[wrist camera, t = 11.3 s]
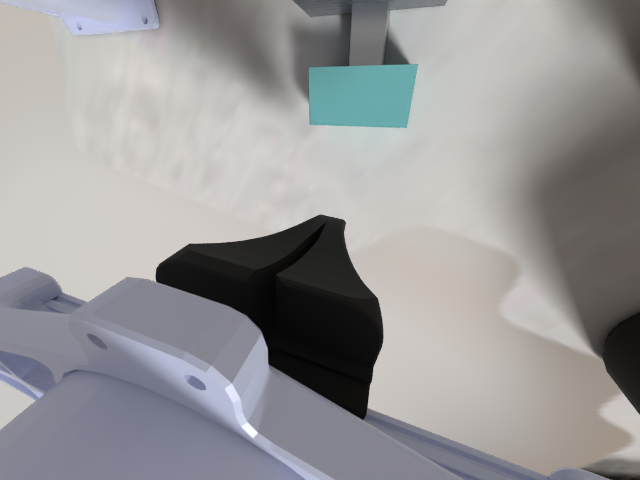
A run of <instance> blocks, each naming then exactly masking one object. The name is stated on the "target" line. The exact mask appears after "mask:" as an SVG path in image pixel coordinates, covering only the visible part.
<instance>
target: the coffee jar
mask: <svg viewBox="0 0 640 480" xmlns="http://www.w3.org/2000/svg"><path fill="white" fill-rule="evenodd" d="M602 355H603V360H604V364H605V367H606V370H607V372H608V374H609V375H610V376H611V377H612V379H613V380H614V382H615V383H616V384H617V385H618V387H619V388H620V389H621V391H622V392H623V393H624V395H625V396H626V397H627V399H628V400H629V401H630V402H631V404H632V405H633V406H634V408H635V409H636V410H637V412H638V413H639V414H640V313H638V314H636V315H634V316H632V317H630V318H628V319H627V320H625V321H623V322H621V323H619V324H618V325H617V326H616V327H615V328H614V329H613V330H612V331H611V332H610V333H609V334H608V336H607V338H606V341H605V344H604V351H603V354H602Z"/></svg>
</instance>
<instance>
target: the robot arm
mask: <svg viewBox="0 0 640 480" xmlns="http://www.w3.org/2000/svg"><path fill="white" fill-rule="evenodd" d="M0 3H3V4H7V5H11V6H15V7H20V8H24V9H27V10H31V11H35V12H39V13H44V14H47V15H51V16H55V17H59V18H63V20H64V22H65V25H66V27H67V29H68V31H69V32H70V33H71V34H72V35H76V36H83V35H94V34H106V33H118V32H130V31H141V30H153V29H158V27H159V24H160V23H159V18H158V14H157V10H156V6H155V2H154V0H0ZM146 18H147V20H148V23H147V21H146ZM345 224H346V222H345V221H344V220H342V219H338V218H334V217H329V216H325V215H318V216H316V217H314V218H312V219H309V220H307V221H305V222H303V223H301V224H299V225H297V226H294V227H292V228H289V229H287V230H284V231H281V232H278V233H275V234H272V235H268V236H264V237H260V238H255V239H249V240H244V241H237V242H227V243H211V244H210V243H206V244H188V245H187V246H185V247H184V248H182V249H181V250H179V251H178V252H176V253H175V254H173V255H172V256H170V257H169V258H167V259H166V260H164V261H163V262H162V263H160V264H159V266H158V267H157V269H156V282H154V281H151V280H148V279H140V278H131V277H126V278H125V279H123V280H122V281H120V282H119V283H117V284H116V285H114V286H112V287H111V288H110V289H108V290H106V291H105V292H103V293H102V294H100V295H98V296H97V297H95V298H94V299H92V300H91V301H89V302H86V301H83V300H80V299H78V298H75V297H72V296H70V295H67V294H65V293H62V289H61V287H60V286H59V284H58V283H57V282H56V280H55V279H54V278H52V277H51V276H49V275H48V274H45V273H42V272H40V271H37V270H34V269H31V268H28V267H24V268H22V269H19V270H17V271H15V272H13V273H10V274H8V275H6V276H3V277H1V278H0V380H1V381H3V382H4V383H6V384H8V385H10V386H12V387H14V388H15V389H17V390H19V391H20V392H22V393H24V394H26V395H27V396H29V397H31V398H33V399H34V400H36V401H35V402H34V403H33V404H31V405H30V406H29V407H28V408H26V409H25V410H24V411H23V412H22V413H20V414H19V415H18V416H17V417H16V418H14V419H13V420H12V421H11V422H10V423H8V424H7V425H6V426H5V427H3V428H2V429H1V430H0V480H610V479H607V478H604V477H602V476H599V475H596V474H594V473H591V472H588V471H585V470H582V469H578V468H569V467H564V468H560V469H557V470H555V471H554V472H552V473H551V474H550V475H549V476H545V475H543V474H540V473H537V472H535V471H532V470H529V469H527V468H524V467H521V466H519V465H516V464H514V463H511V462H508V461H506V460H503V459H500V458H498V457H495V456H493V455H490V454H487V453H484V452H481V451H479V450H477V449H474V448H471V447H468V446H466V445H463V444H461V443H458V442H456V441H453V440H450V439H447V438H445V437H442V436H440V435H437V434H434V433H432V432H429V431H426V430H424V429H421V428H419V427H416V426H413V425H410V424H408V423H405V422H403V421H400V420H397V419H394V418H392V417H389V416H387V415H384V414H382V413H379V412H376V411H373V410H371V409H368V408H367V406H368V397H369V388H370V384H371V382H372V376H373V367H374V364H375V362H376V360H377V357H378V355H379V352H380V350H381V348H382V344H383V323H382V316H381V310H380V306H379V302H378V298H377V297H376V296H375V295H374V294H373V293H372V292H371V291H370V290H369V288H368V287H367V286H366V285H365V284H364V283H363V282H362V280H361V279H360V277H359V275H358V274H357V272H356V270H355V269H354V267H353V264H352V262H351V260H350V258H349V255H348V252H347V248H346V244H345V238H344V230H345Z"/></svg>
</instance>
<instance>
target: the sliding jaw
mask: <svg viewBox="0 0 640 480" xmlns="http://www.w3.org/2000/svg"><path fill="white" fill-rule="evenodd" d="M293 1H294V2H295V3H296V4H297V5H298V6H299V7H300V8H302V9H303V10H304V11H305V12H306V13H307V14H308V15H309V16H310V17H314V16H326V15H337V14H349V13H352V20H351V38H350V56H349V66H339V67H309V117H310V125H335V126H365V127H395V128H407V123H408V117H409V111H410V106H411V100H412V95H413V89H414V83H415V78H416V72H417V67H418V64H407V65H384V57H385V48H386V40H387V31H388V23H389V14H390V10H396V9H408V8H420V7H432V6H444V5H445V4H446V2H447V0H293Z"/></svg>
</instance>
